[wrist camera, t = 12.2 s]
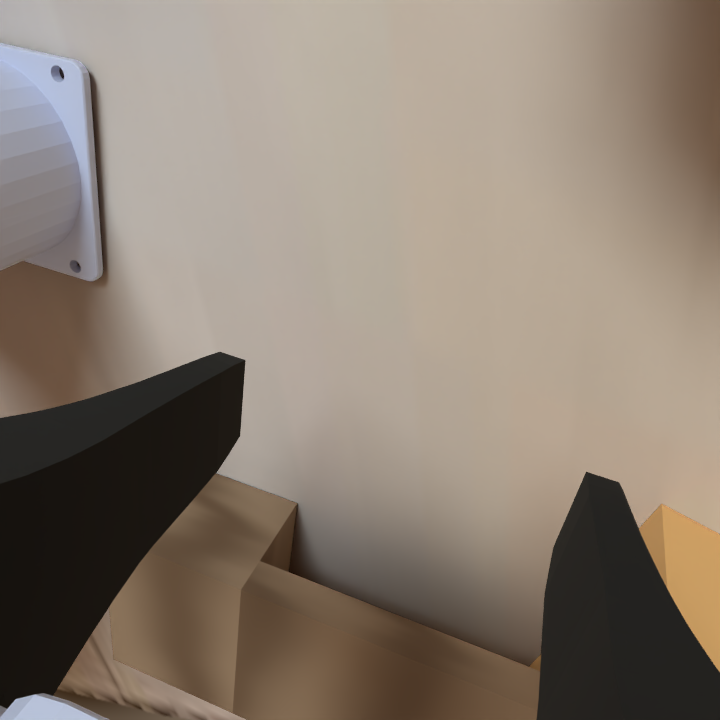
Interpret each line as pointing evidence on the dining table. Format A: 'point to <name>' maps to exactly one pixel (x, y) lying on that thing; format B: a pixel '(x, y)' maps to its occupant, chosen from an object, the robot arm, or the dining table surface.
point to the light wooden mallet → (686, 573)
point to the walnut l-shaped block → (292, 630)
